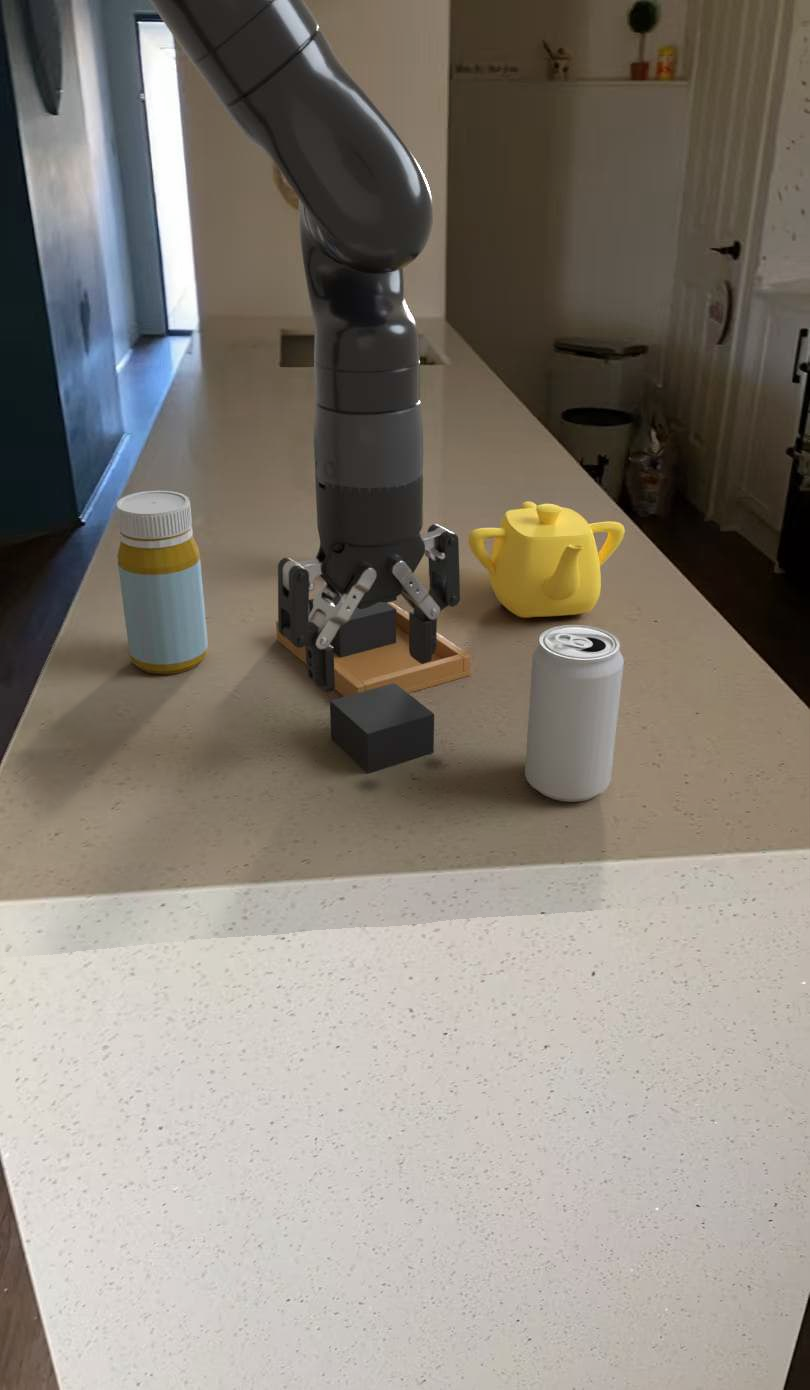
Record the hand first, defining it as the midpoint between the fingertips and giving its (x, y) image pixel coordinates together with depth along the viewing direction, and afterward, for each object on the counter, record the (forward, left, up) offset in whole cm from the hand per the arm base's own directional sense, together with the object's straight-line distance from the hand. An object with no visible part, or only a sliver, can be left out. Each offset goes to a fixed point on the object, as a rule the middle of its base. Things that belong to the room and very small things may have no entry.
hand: (373, 673), depth 83 cm
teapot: (+29, +15, -7) cm, 33 cm away
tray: (+8, +14, -7) cm, 17 cm away
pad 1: (+8, +17, -6) cm, 20 cm away
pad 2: (+1, 0, -7) cm, 7 cm away
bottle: (-8, +23, -7) cm, 25 cm away
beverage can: (+10, -12, -7) cm, 17 cm away
